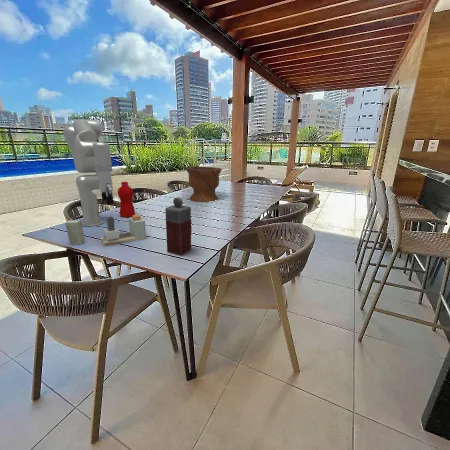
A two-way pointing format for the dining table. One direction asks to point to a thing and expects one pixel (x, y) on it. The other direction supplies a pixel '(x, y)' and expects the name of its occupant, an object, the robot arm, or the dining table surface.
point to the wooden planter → (203, 183)
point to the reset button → (136, 217)
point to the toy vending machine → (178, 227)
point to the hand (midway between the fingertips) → (107, 202)
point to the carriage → (111, 229)
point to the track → (120, 239)
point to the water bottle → (126, 200)
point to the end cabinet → (137, 227)
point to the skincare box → (75, 231)
